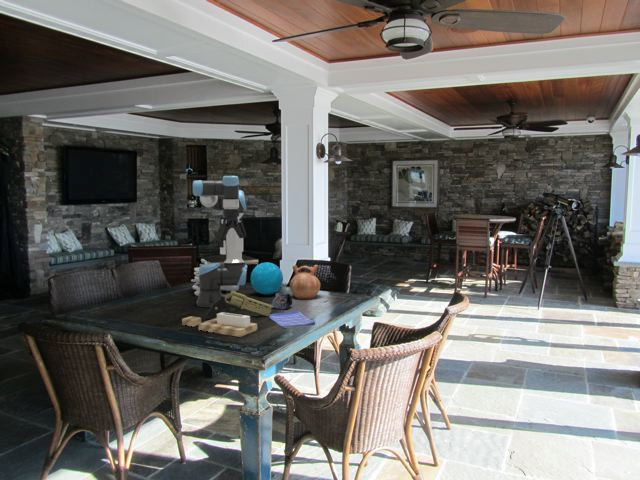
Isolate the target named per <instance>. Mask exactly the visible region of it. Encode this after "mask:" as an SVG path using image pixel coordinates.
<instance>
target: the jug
mask: <svg viewBox="0 0 640 480" xmlns="http://www.w3.org/2000/svg"><path fill="white" fill-rule="evenodd" d="M317 267H318V265H317V264H315V265H313V266H308V265H302V266H299V267H298V266H297V264H295V265H293V266H292V270H293V271H294V272H293V273H294V275H293V277H292V279H291V280H290V282H289V290H290V291H291V293H292V295H293V296H294V298H296V299H298V300H311V299H314V298H316V297H317V295H318V293H319V292H320V289H321V282H320V280H319V278H318V277H317V276H316V275H315V272H316V271H317ZM303 269H306V270H307V271H301V270H303Z"/></svg>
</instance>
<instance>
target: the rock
mask: <svg viewBox="0 0 640 480" xmlns="http://www.w3.org/2000/svg"><path fill="white" fill-rule="evenodd" d="M274 294H275V297H274V299H273V300H272V306H273V308H274V309H278V310H286V309H287V310H288V309H289V308H290V307H291V306H292V305H293V297H292V295H291V294H290V293H285V292H284V293H282V292H275V293H274Z"/></svg>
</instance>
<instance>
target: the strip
mask: <svg viewBox="0 0 640 480" xmlns="http://www.w3.org/2000/svg"><path fill="white" fill-rule="evenodd" d="M250 323H251V316H250V315H246V314H245V315H243V314H236V313H228V312H220V313H218V314H217V324H223V325H230V326H237V327H243V328H246V327H248V326H250Z"/></svg>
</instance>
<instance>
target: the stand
mask: <svg viewBox="0 0 640 480" xmlns="http://www.w3.org/2000/svg"><path fill="white" fill-rule="evenodd" d="M181 322H182V324H181V326H185V325H187V327H191V326H192V327H196V326H198V324H199V323H202V317H198V316H187V317H184V318H182V319H181Z"/></svg>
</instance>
